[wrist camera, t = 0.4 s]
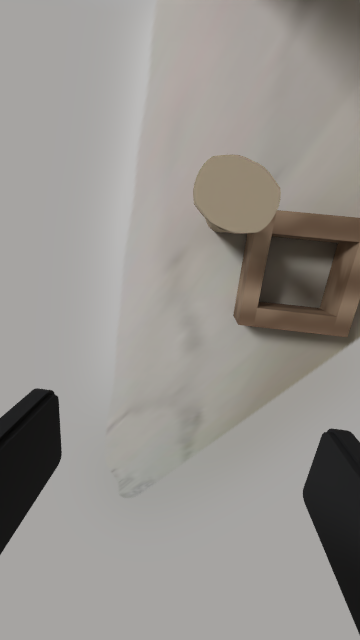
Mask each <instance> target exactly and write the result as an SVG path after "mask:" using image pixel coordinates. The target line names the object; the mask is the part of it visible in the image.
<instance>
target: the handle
mask: <svg viewBox="0 0 360 640" xmlns="http://www.w3.org/2000/svg"><path fill="white" fill-rule="evenodd" d="M280 195H281V192H280V187H279V186H278V184H277V183H276V181H275V180H274V178H273V177H272V176H271V174H270V173H269V172H268V171H267V170H266V168H265V167H263V166H262V165H260V164H258V163H256V162H254V161H252V160H250V159H248V158H246V157H243V156H240V155H220V156H213V157H211V158H210V159H209V160H208V161H206V162H205V163H204V165H203V166H202V168H201V169H200V171H199V173H198V175H197V177H196V181H195V184H194V189H193V198H194V205H195V206H196V207H197V209H198V210H199V211H200V213H201V214H202V215H203V216H204V217H205V219H206V222H207V224H208V226H209V227H210V228H211V229H212V230H213V231H215V232H221V233H223V232H229V233H236V234H244V233H257V232H259V231H261V230H262V229H264V228H265V227H266V226H267V225H268V224H269V223H270V221H271V220H272V219H273V217H274V215H275V213H276V211H277V209H278V206H279V202H280Z"/></svg>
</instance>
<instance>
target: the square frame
mask: <svg viewBox="0 0 360 640" xmlns="http://www.w3.org/2000/svg"><path fill="white" fill-rule="evenodd" d="M271 236H272V237H282V238H292V239H303V240H313V241H323V242H333V243H338V244H337V248H336V252H335V255H334V259H333V262H332V266H331V270H330V273H329V277H328V280H327V284H326V288H325V291H324V295H323V298H322V302H321V306H320V308H312V307H303V306H294V305H285V304H276V303H267V302H259V297H260V292H261V287H262V282H263V277H264V272H265V267H266V262H267V256H268V251H269V246H270V241H271ZM359 300H360V218H354V217H344V216H333V215H322V214H311V213H301V212H290V211H279V210H277V211H276V213H275V215H274V217H273V219H272V220H271V221H270V223H269V224H268V225H267V226H266V227H265V228H264V229H262V230H261V231H259V232H257V233H247V239H246V245H245V250H244V256H243V262H242V268H241V274H240V280H239V286H238V292H237V297H236V303H235V309H234V315H233V316H234V318H235V319H236V321H237V323H238V325H245V326H254V327H263V328H271V329H280V330H289V331H298V332H306V333H315V334H324V335H333V336H341V337H348V334H349V331H350V327H351V324H352V321H353V318H354V315H355V312H356V309H357V306H358V303H359Z"/></svg>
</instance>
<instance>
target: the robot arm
mask: <svg viewBox="0 0 360 640" xmlns="http://www.w3.org/2000/svg"><path fill="white" fill-rule="evenodd" d="M60 459H61V435H60V418H59V401H58V397H57V396H56V395H55V394H54V392H53V391H52V390H45V389H34V390H32V391H31V392H30V393H29V394H28V395H27V396H25V397H24V398H23V399H22V400H21V401H20V402H18V403H17V404H16V405H15V406H14V407H13V408H11V409H10V410H9V411H8V412H7V413H6V414H4V415H3V416H2V417H1V418H0V554H1V553H2V551H3V550H4V548H5V546H6V545H7V543H8V542H9V540H10V539H11V537H12V536H13V534H14V533H15V531H16V529H17V528H18V526H19V525H20V523H21V522H22V520H23V519H24V517H25V515H26V514H27V512H28V511H29V509H30V508H31V506H32V505H33V503H34V502H35V500H36V499H37V497H38V495H39V494H40V492H41V490H42V489H43V488H44V486H45V485H46V483H47V481H48V480H49V478H50V477H51V475H52V474H53V472H54V471H55V469H56V468H57V466H58V464H59V462H60ZM303 498H304V502H305V505H306V507H307V509H308V512H309V514H310V517H311V519H312V521H313V524H314V526H315V529H316V531H317V533H318V536H319V538H320V541H321V543H322V545H323V547H324V550H325V553H326V555H327V557H328V560H329V562H330V565H331V567H332V569H333V572H334V574H335V576H336V579H337V581H338V584H339V586H340V589H341V591H342V593H343V596H344V598H345V601H346V603H347V605H348V608H349V610H350V613H351V615H352V617H353V620H354V622H355V624H356V627H357V629H358V632H359V634H360V442H359V441H358V440H357V439H356V438H355V436H354V435H353V434H352V433H351V432H349V431H345V430H338V429H329V430H328V431H327V432H324V433H323V434H322V437H321V440H320V443H319V446H318V448H317V451H316V454H315V457H314V460H313V463H312V466H311V469H310V471H309V474H308V477H307V480H306V483H305V486H304V489H303Z"/></svg>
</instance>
